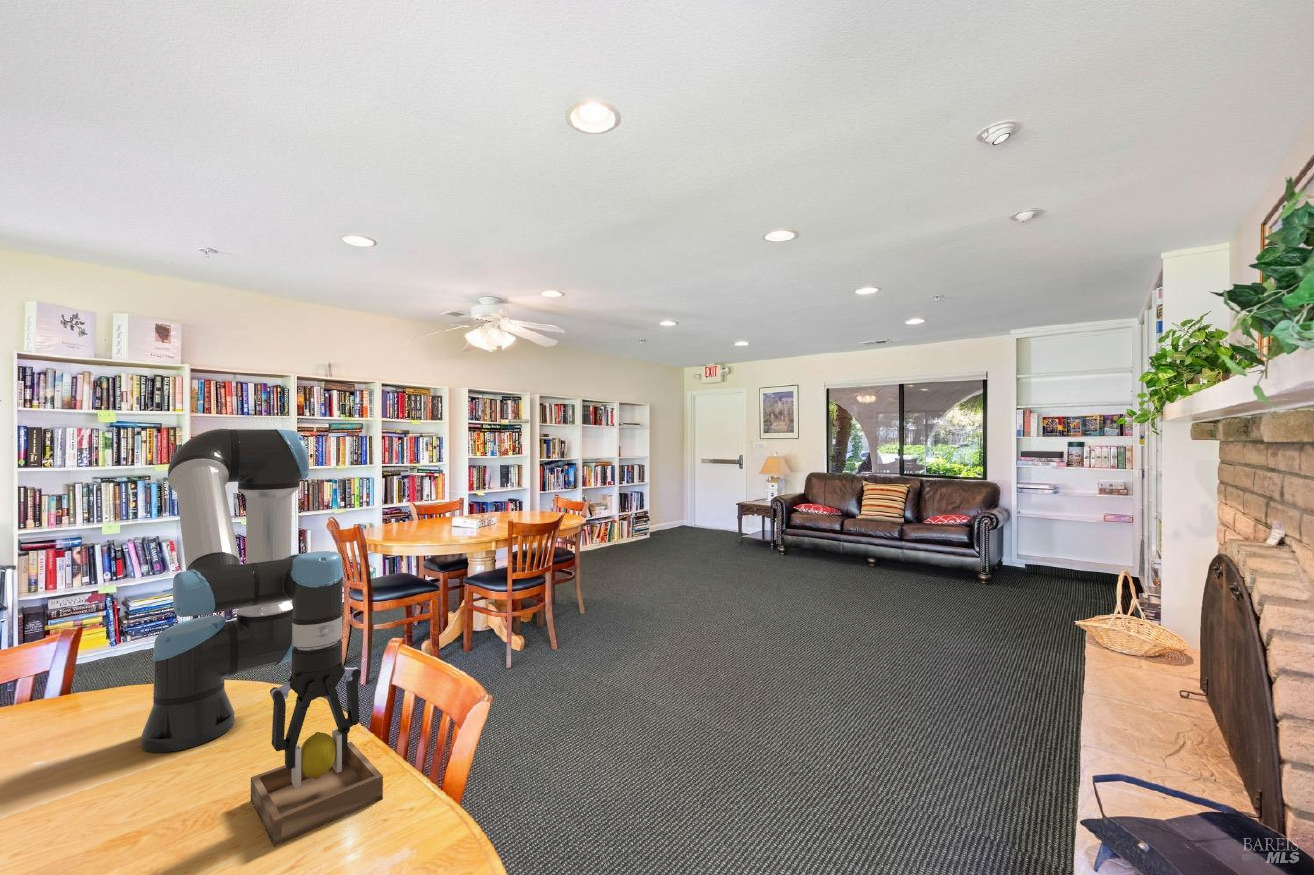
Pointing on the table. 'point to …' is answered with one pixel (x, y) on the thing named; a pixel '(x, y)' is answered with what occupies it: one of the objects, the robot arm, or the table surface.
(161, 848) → the table surface
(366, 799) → the walnut bin
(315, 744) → the lemon
